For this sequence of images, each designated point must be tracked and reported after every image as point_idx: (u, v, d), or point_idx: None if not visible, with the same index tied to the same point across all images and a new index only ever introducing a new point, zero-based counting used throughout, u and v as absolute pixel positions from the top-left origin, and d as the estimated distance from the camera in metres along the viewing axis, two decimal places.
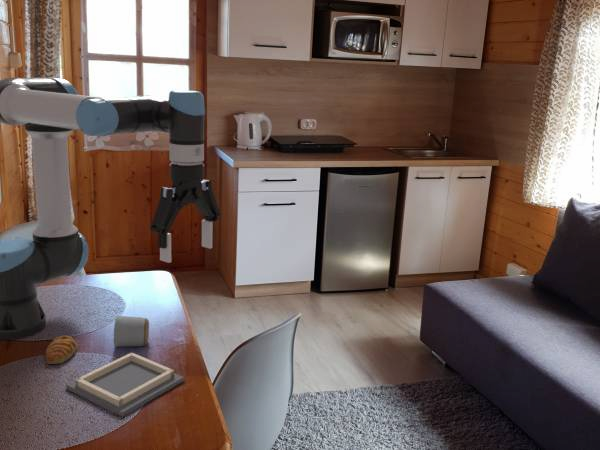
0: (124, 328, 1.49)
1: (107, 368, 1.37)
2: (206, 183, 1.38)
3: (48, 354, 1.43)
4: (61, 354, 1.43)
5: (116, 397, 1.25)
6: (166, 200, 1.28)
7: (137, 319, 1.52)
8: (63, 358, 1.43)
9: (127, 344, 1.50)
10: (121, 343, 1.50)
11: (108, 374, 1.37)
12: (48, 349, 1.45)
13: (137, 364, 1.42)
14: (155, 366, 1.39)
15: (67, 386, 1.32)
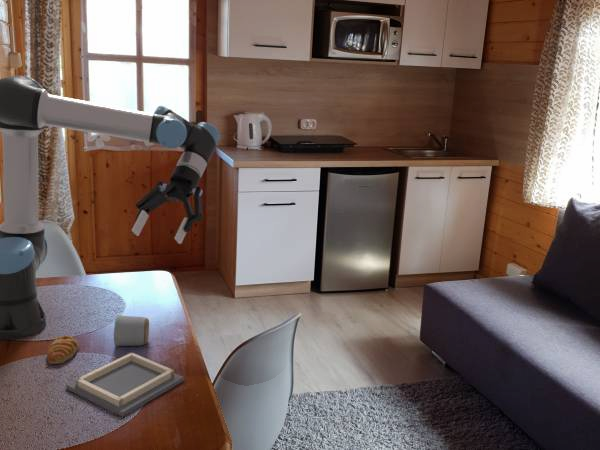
0: (124, 327, 1.49)
1: (107, 368, 1.37)
2: None
3: (50, 354, 1.43)
4: (63, 354, 1.43)
5: (116, 397, 1.25)
6: (201, 198, 1.61)
7: (137, 318, 1.52)
8: (65, 358, 1.43)
9: (127, 343, 1.51)
10: (121, 342, 1.50)
11: (108, 374, 1.37)
12: (49, 349, 1.45)
13: (137, 364, 1.42)
14: (155, 366, 1.39)
15: (67, 386, 1.32)
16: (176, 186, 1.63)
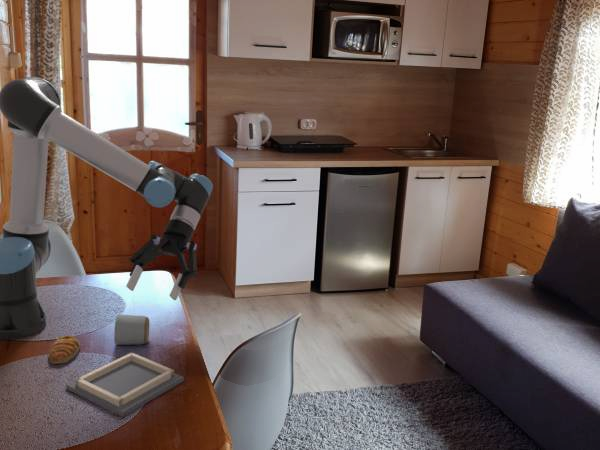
0: (125, 326, 1.50)
1: (107, 368, 1.37)
2: None
3: (52, 354, 1.43)
4: (65, 353, 1.43)
5: (116, 397, 1.25)
6: (195, 253, 1.62)
7: (138, 317, 1.53)
8: (67, 358, 1.43)
9: (128, 342, 1.51)
10: (122, 341, 1.51)
11: (108, 374, 1.37)
12: (51, 349, 1.45)
13: (137, 364, 1.42)
14: (155, 366, 1.39)
15: (67, 386, 1.32)
16: (170, 240, 1.64)
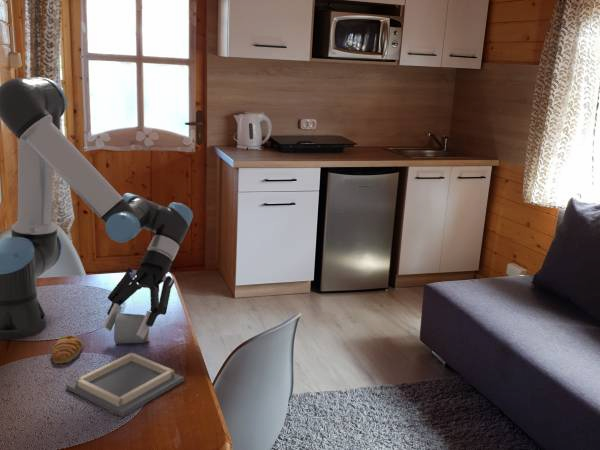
0: (124, 325, 1.51)
1: (107, 368, 1.37)
2: None
3: (55, 354, 1.43)
4: (68, 353, 1.43)
5: (116, 397, 1.25)
6: (170, 288, 1.56)
7: (137, 316, 1.53)
8: (70, 357, 1.43)
9: (127, 341, 1.52)
10: (121, 340, 1.51)
11: (108, 374, 1.37)
12: (54, 349, 1.45)
13: (137, 364, 1.42)
14: (155, 366, 1.39)
15: (67, 386, 1.32)
16: (147, 270, 1.58)
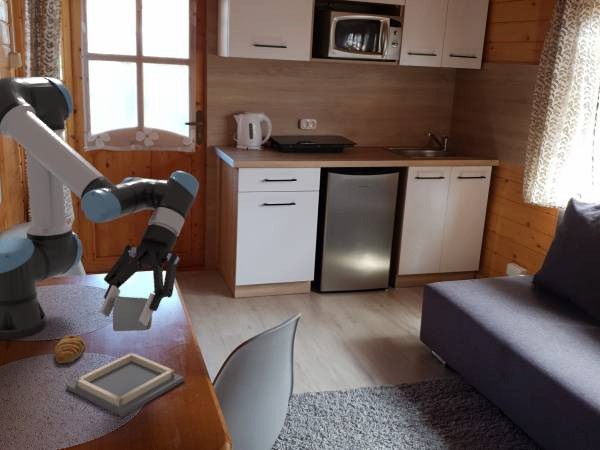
0: (124, 310, 1.31)
1: (107, 368, 1.37)
2: None
3: (58, 353, 1.43)
4: (71, 353, 1.43)
5: (116, 397, 1.25)
6: (175, 267, 1.36)
7: (139, 300, 1.33)
8: (74, 357, 1.43)
9: (128, 328, 1.32)
10: (121, 327, 1.32)
11: (108, 374, 1.37)
12: (57, 349, 1.45)
13: (137, 364, 1.42)
14: (155, 366, 1.39)
15: (67, 386, 1.32)
16: (149, 247, 1.38)
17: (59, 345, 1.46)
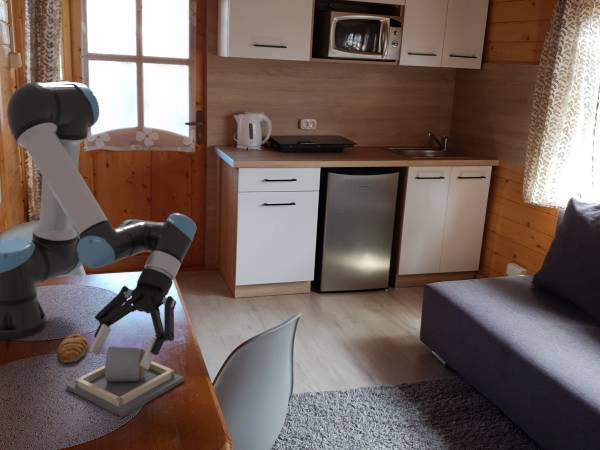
0: (117, 361, 1.31)
1: None
2: None
3: (63, 353, 1.43)
4: (76, 352, 1.44)
5: (116, 397, 1.25)
6: (173, 310, 1.35)
7: (132, 351, 1.33)
8: (78, 356, 1.44)
9: (120, 379, 1.32)
10: (113, 378, 1.31)
11: None
12: (61, 348, 1.45)
13: None
14: (155, 366, 1.39)
15: (67, 386, 1.32)
16: (144, 294, 1.37)
17: (63, 345, 1.46)
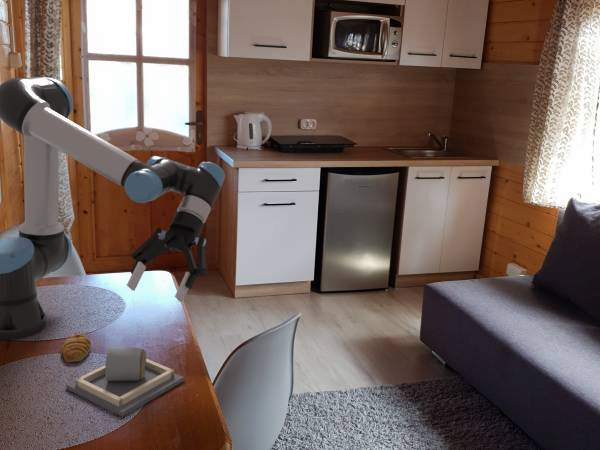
0: (117, 361, 1.31)
1: None
2: None
3: (67, 353, 1.44)
4: (80, 351, 1.44)
5: (116, 397, 1.25)
6: (204, 249, 1.45)
7: (132, 350, 1.33)
8: (82, 355, 1.44)
9: (121, 379, 1.32)
10: (114, 378, 1.32)
11: None
12: (65, 348, 1.45)
13: None
14: (155, 366, 1.39)
15: (67, 386, 1.32)
16: (177, 234, 1.47)
17: (66, 344, 1.46)
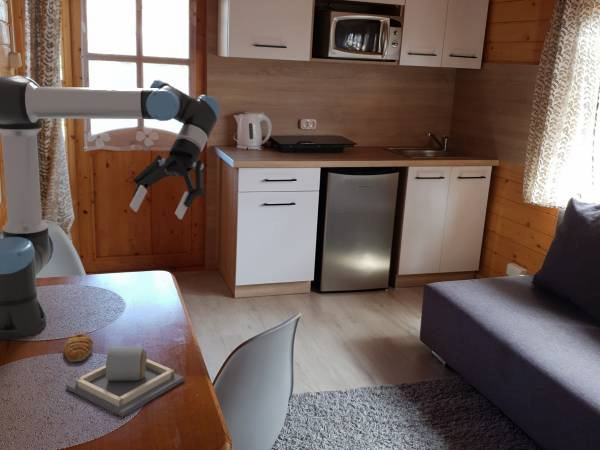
0: (118, 361, 1.31)
1: None
2: None
3: (69, 352, 1.44)
4: (83, 351, 1.45)
5: (116, 397, 1.25)
6: (202, 173, 1.55)
7: (133, 350, 1.33)
8: (85, 355, 1.45)
9: (121, 379, 1.32)
10: (114, 378, 1.32)
11: None
12: (67, 348, 1.46)
13: None
14: (155, 366, 1.39)
15: (67, 386, 1.32)
16: (176, 160, 1.57)
17: (69, 344, 1.46)
